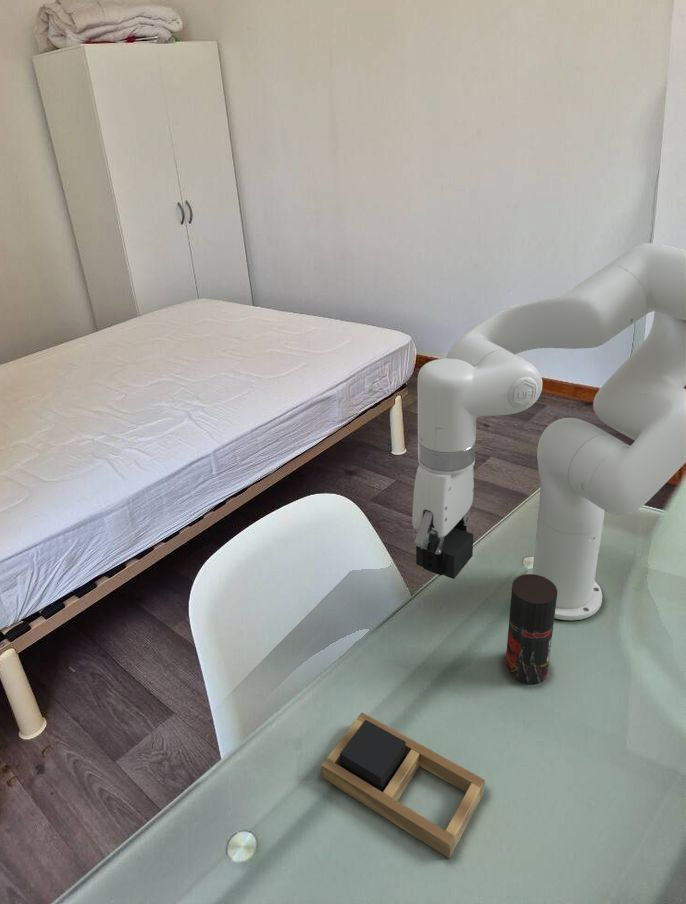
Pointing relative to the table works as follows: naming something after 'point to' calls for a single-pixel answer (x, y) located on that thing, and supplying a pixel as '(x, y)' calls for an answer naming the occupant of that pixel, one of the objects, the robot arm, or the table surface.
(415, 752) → the frame
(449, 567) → the pad loose
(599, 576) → the table surface
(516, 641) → the deodorant
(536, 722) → the table surface
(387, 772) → the pad seated
